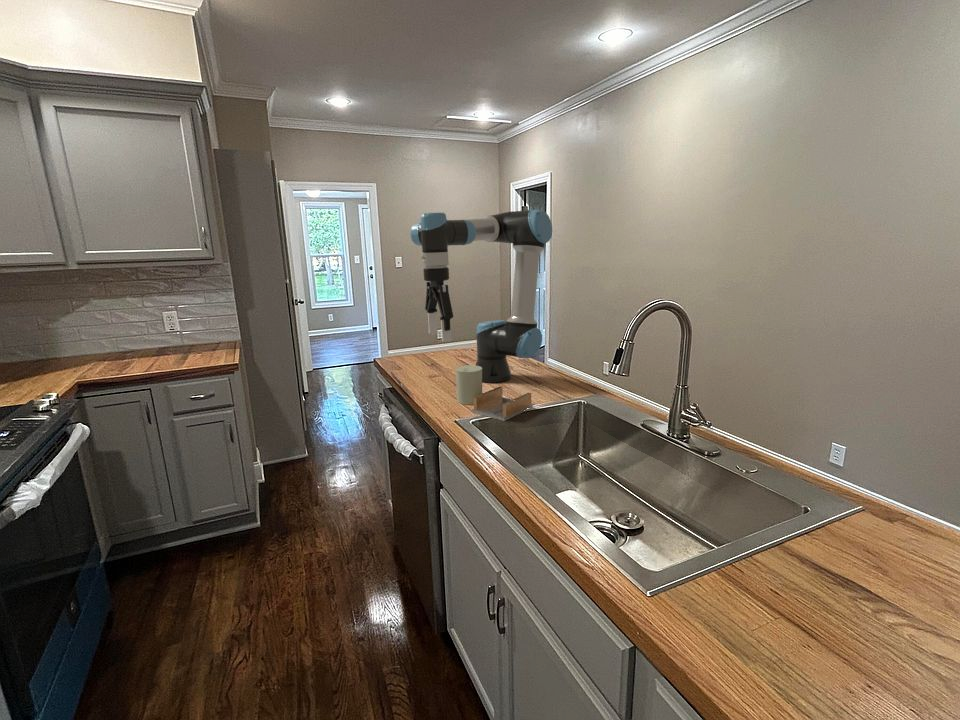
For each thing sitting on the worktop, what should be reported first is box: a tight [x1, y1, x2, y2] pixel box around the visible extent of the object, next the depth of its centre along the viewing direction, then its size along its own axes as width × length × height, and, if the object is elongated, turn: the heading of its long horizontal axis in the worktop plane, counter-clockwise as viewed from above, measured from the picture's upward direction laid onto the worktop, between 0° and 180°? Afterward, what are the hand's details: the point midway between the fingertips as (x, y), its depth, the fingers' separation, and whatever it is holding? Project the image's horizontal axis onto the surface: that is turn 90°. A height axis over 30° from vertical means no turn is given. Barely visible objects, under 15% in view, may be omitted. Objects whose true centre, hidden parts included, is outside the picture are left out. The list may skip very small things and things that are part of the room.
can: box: [455, 364, 483, 406], centre depth 164 cm, size 9×9×12 cm
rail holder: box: [471, 386, 534, 422], centre depth 155 cm, size 16×13×5 cm
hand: (439, 337), depth 147 cm, fingers open, 13 cm apart
